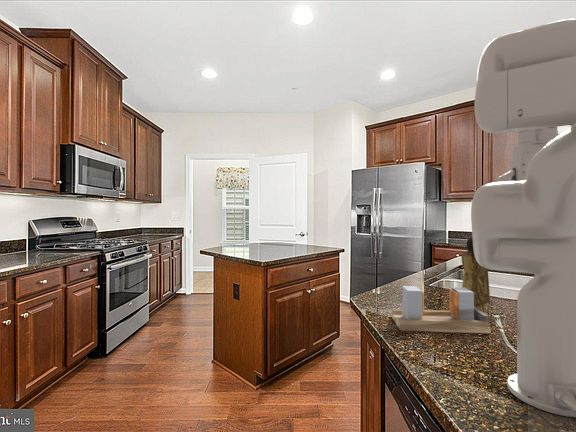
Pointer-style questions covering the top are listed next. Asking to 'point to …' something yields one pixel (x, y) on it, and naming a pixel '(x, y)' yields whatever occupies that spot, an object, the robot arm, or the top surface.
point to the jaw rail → (448, 316)
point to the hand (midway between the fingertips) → (536, 211)
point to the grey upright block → (413, 302)
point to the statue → (475, 278)
